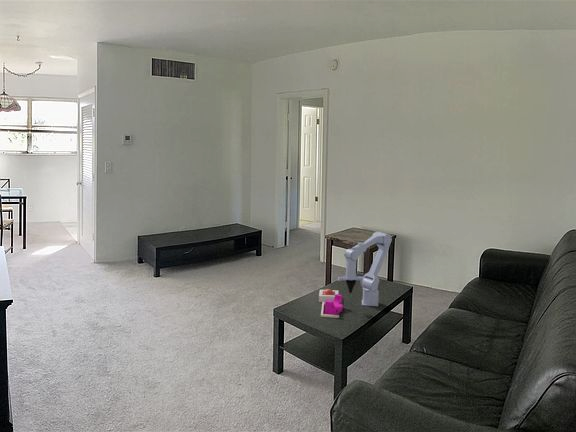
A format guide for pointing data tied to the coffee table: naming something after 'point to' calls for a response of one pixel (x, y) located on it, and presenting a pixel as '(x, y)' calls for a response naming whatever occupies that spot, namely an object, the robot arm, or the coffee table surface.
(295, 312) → the coffee table surface
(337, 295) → the toy block
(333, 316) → the frame
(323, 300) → the dome housing
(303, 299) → the coffee table surface
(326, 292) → the dome
